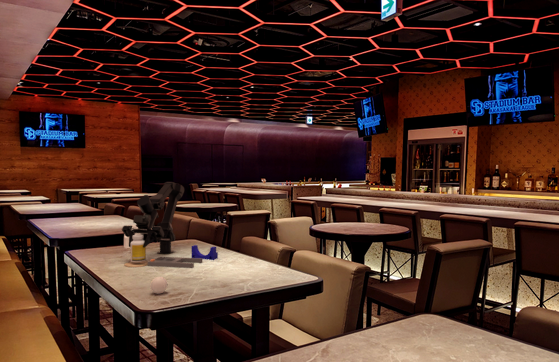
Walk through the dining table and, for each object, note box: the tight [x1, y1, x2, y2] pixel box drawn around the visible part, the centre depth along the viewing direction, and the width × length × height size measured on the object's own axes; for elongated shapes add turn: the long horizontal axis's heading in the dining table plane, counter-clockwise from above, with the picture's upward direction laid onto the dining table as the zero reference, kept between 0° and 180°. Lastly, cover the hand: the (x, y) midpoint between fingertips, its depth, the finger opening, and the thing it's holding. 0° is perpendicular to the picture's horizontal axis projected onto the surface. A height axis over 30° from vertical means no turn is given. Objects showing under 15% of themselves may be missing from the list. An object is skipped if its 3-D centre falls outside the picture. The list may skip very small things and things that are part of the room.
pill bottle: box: [129, 234, 147, 262], centre depth 180 cm, size 6×6×12 cm
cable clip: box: [191, 244, 219, 261], centre depth 195 cm, size 12×4×6 cm, turn 70°
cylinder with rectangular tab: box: [123, 224, 142, 249], centre depth 224 cm, size 9×9×12 cm
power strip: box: [147, 256, 203, 269], centre depth 181 cm, size 12×21×2 cm, turn 80°
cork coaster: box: [124, 260, 149, 268], centre depth 180 cm, size 11×11×1 cm
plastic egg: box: [149, 276, 168, 295], centre depth 136 cm, size 8×6×6 cm
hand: (136, 246), depth 178 cm, fingers closed on pill bottle, 6 cm apart
